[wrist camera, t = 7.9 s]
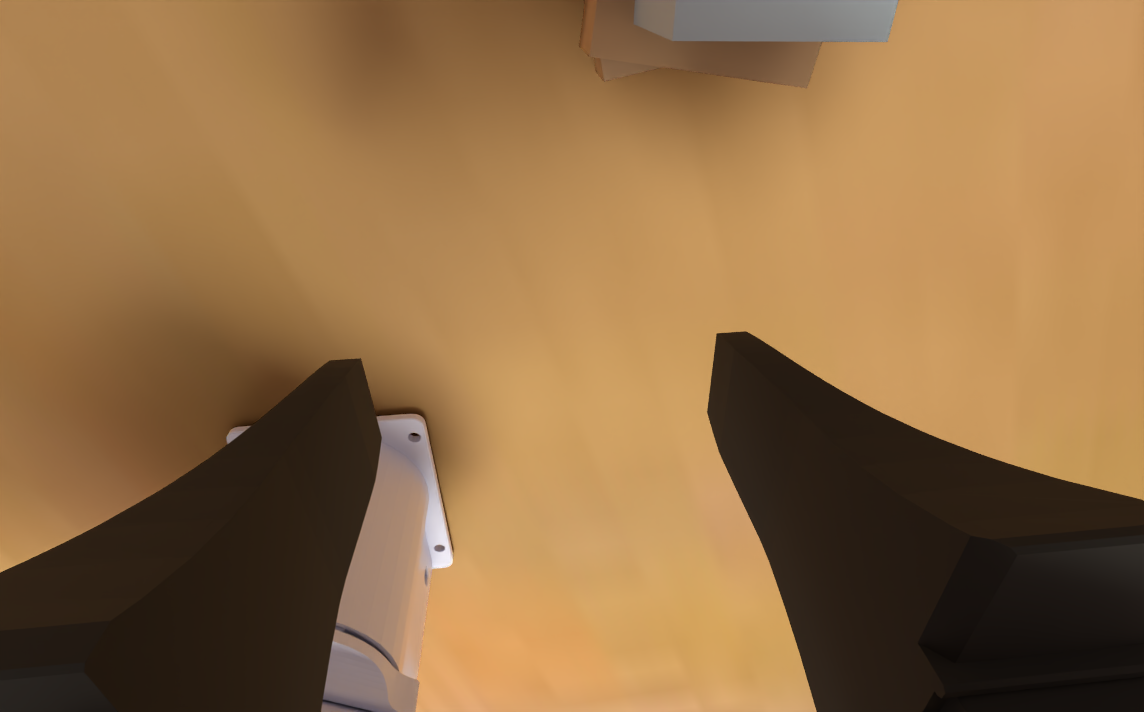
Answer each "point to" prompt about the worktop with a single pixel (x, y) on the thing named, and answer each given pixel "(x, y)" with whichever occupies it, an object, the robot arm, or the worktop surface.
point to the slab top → (692, 49)
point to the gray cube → (767, 20)
